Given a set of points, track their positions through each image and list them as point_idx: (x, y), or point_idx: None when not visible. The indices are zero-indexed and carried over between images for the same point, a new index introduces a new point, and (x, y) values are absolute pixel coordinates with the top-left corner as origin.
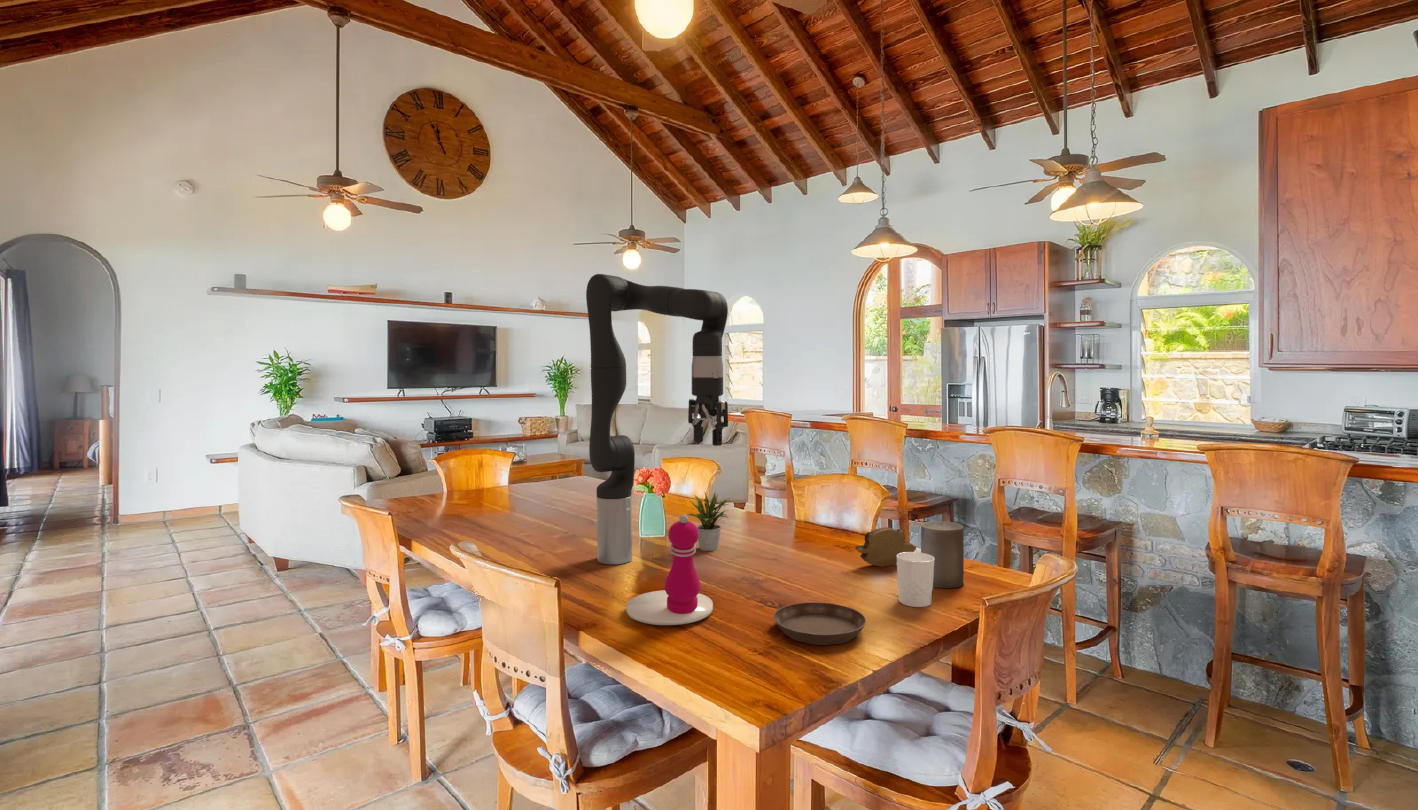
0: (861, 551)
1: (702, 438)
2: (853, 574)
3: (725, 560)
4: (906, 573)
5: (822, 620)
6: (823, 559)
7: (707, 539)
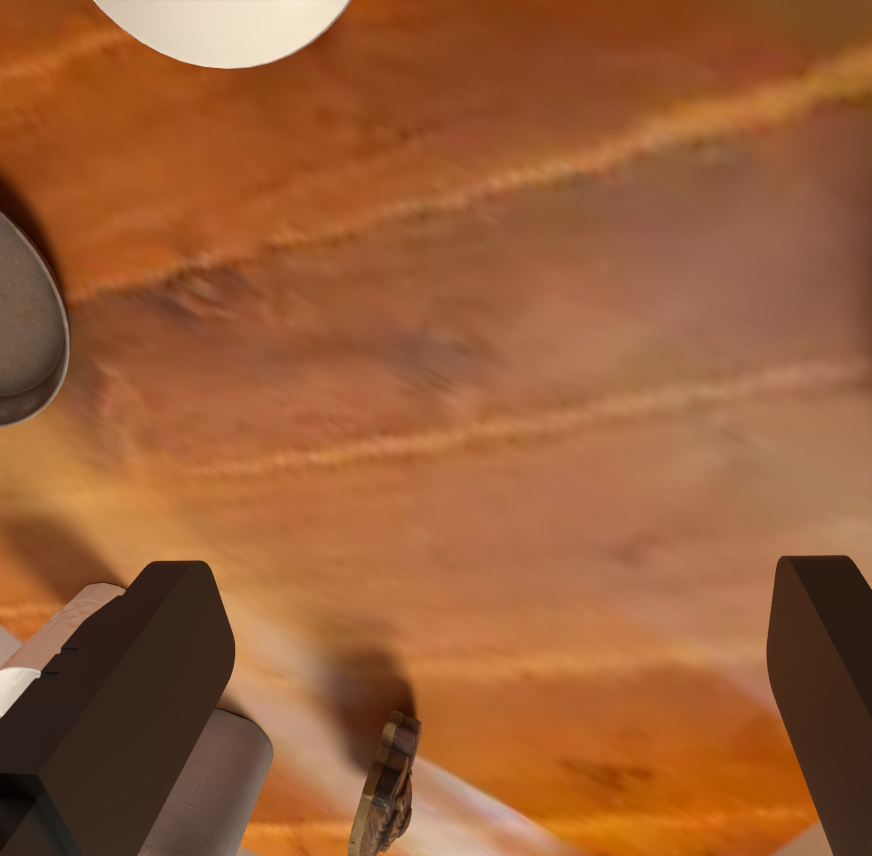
0: (384, 726)
1: (785, 712)
2: (361, 638)
3: (729, 401)
4: (33, 640)
5: (23, 343)
6: (534, 664)
7: None
